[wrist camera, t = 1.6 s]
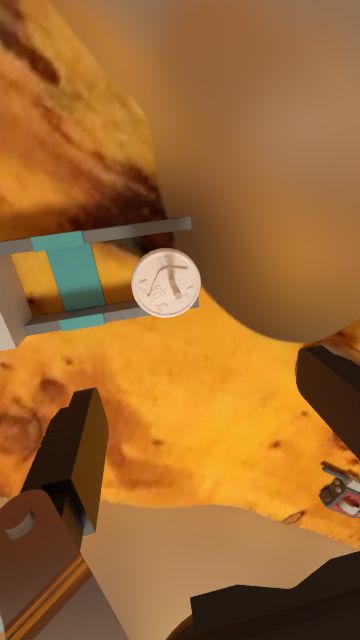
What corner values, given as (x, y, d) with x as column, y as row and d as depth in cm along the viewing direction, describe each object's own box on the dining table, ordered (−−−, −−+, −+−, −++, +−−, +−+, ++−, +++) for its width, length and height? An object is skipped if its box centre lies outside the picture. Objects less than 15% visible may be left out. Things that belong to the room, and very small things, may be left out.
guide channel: (185, 215, 30) (196, 216, 25) (194, 300, 34) (204, 316, 29) (-16, 242, 28) (-53, 249, 23) (20, 328, 32) (-4, 352, 27)
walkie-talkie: (375, 484, 59) (322, 458, 53) (393, 504, 55) (338, 479, 49) (348, 508, 61) (294, 486, 55) (363, 528, 57) (306, 507, 51)
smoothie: (194, 268, 33) (230, 305, 20) (155, 299, 34) (166, 353, 21) (162, 227, 30) (180, 238, 17) (121, 261, 31) (110, 296, 18)
